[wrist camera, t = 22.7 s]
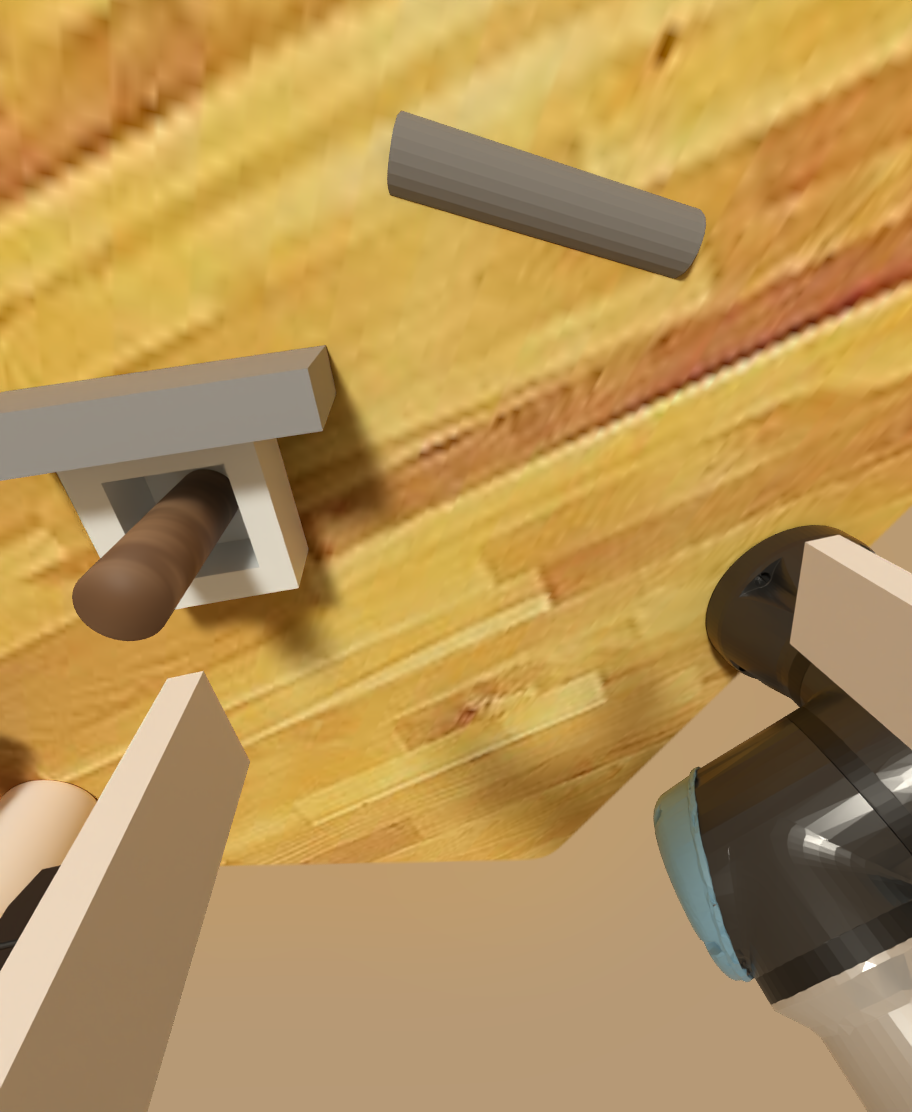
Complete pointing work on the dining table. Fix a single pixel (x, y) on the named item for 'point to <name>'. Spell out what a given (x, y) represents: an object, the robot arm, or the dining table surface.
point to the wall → (164, 411)
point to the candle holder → (37, 831)
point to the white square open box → (250, 538)
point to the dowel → (156, 559)
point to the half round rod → (540, 197)
